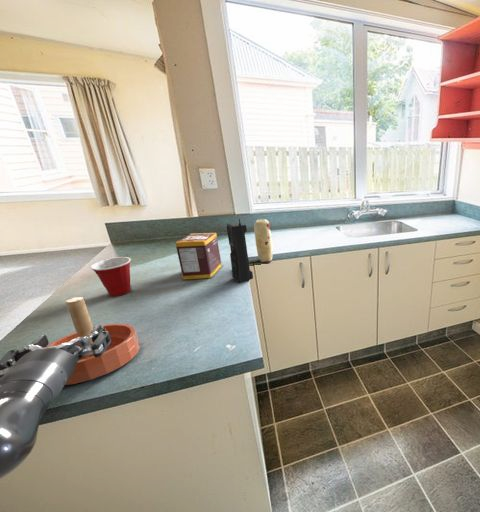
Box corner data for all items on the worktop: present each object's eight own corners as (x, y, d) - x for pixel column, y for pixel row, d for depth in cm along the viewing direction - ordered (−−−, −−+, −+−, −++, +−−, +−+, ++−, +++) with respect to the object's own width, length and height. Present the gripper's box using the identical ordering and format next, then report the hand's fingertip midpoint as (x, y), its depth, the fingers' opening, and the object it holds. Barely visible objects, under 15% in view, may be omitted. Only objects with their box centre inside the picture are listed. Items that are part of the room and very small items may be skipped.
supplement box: (222, 265, 135) (216, 232, 130) (211, 278, 121) (204, 241, 116) (197, 267, 133) (190, 233, 128) (182, 279, 119) (174, 242, 114)
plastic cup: (90, 299, 101) (79, 266, 98) (118, 286, 112) (109, 256, 108) (121, 300, 101) (111, 267, 97) (146, 287, 111) (138, 257, 108)
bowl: (28, 398, 60) (18, 375, 58) (62, 353, 74) (55, 334, 72) (132, 372, 67) (125, 351, 66) (145, 335, 81) (140, 318, 80)
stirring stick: (85, 365, 68) (63, 303, 64) (89, 358, 71) (68, 298, 66) (101, 361, 70) (80, 300, 65) (105, 355, 72) (85, 295, 67)
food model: (277, 261, 142) (272, 220, 136) (263, 264, 137) (258, 221, 131) (268, 256, 148) (264, 217, 142) (255, 259, 144) (249, 218, 138)
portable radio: (231, 277, 121) (221, 217, 114) (246, 274, 125) (237, 215, 118) (238, 283, 116) (228, 220, 108) (253, 279, 120) (245, 218, 112)
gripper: (85, 350, 51) (111, 310, 65) (-41, 377, 45) (18, 326, 58) (97, 385, 54) (120, 339, 67) (-21, 415, 47) (31, 358, 60)
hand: (73, 333), depth 63 cm, fingers open, 8 cm apart
